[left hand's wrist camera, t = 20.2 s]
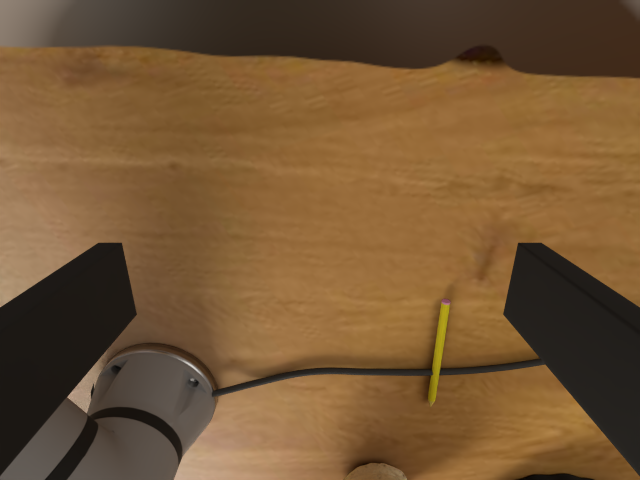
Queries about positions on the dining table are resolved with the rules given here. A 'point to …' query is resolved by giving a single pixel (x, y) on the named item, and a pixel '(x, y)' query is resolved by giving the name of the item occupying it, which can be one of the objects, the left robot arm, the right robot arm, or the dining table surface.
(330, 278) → the dining table surface
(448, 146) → the dining table surface
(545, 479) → the sign
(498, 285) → the dining table surface
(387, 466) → the bowl
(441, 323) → the pencil
